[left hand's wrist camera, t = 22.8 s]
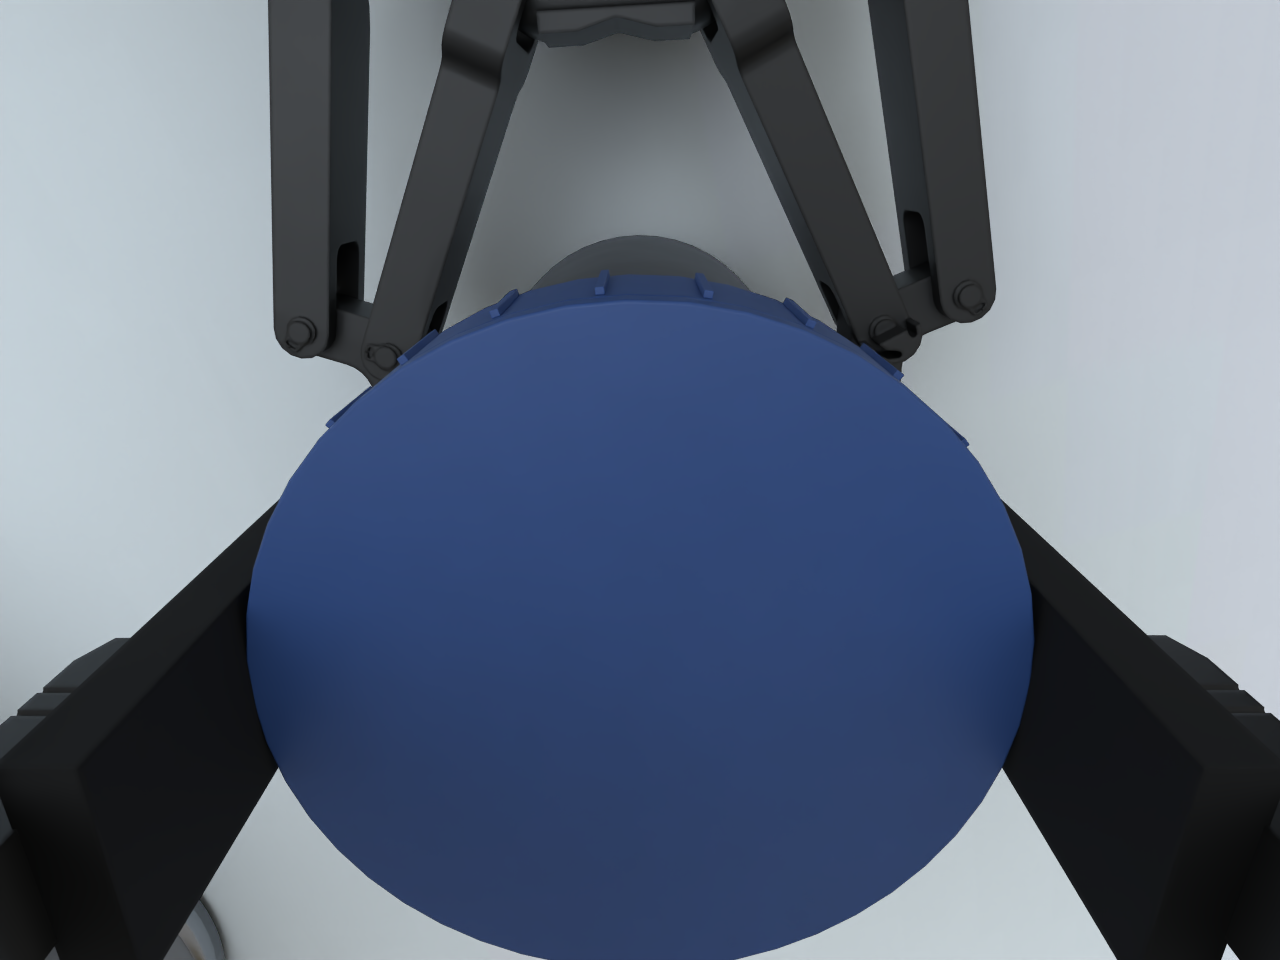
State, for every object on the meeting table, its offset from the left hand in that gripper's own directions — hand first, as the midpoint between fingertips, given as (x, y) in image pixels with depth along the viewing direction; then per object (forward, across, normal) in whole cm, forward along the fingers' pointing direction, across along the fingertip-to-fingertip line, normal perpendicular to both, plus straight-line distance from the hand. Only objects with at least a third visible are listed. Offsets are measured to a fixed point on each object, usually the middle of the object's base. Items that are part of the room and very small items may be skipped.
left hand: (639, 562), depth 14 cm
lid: (-3, 0, 0) cm, 3 cm away
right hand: (+7, 0, -5) cm, 8 cm away
